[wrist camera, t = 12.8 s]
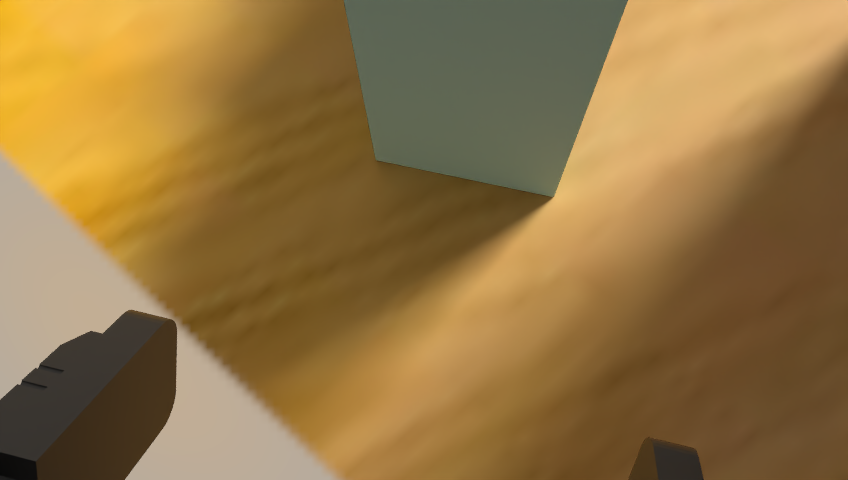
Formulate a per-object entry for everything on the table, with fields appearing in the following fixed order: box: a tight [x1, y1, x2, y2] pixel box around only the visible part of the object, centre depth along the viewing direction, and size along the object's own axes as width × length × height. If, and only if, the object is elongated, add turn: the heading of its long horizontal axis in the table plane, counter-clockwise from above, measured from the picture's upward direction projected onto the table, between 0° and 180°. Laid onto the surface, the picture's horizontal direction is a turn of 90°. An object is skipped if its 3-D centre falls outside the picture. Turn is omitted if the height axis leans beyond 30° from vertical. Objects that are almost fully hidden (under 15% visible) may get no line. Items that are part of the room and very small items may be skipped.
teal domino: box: [344, 0, 628, 197], centre depth 16 cm, size 2×5×10 cm, turn 77°
